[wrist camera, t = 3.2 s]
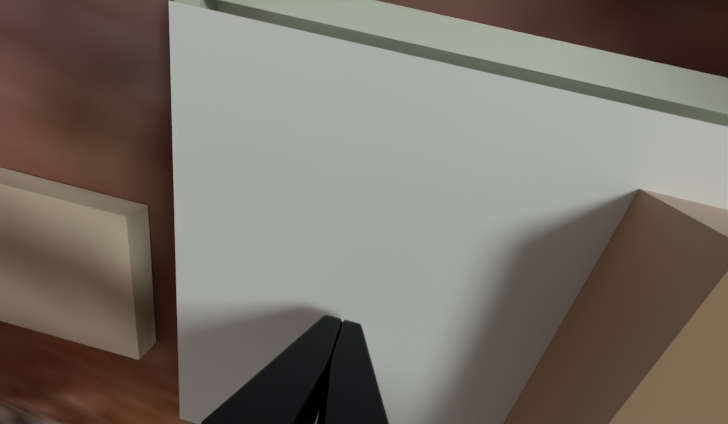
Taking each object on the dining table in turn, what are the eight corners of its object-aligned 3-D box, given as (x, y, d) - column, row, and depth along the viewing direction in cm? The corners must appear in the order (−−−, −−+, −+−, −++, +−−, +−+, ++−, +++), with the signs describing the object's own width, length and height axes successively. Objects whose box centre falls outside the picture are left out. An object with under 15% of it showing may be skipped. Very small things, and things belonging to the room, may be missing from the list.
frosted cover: (517, 395, 14) (591, 641, 8) (245, 321, 15) (125, 499, 9) (675, 119, 10) (1130, 212, 3) (269, 27, 10) (46, -33, 4)
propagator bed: (819, 478, 15) (861, 522, 14) (201, 310, 17) (180, 334, 15) (1197, 190, 9) (1339, 212, 8) (205, -30, 11) (172, -45, 9)
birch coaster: (156, 342, 18) (139, 360, 17) (16, 303, 18) (-9, 318, 17) (147, 205, 15) (126, 217, 14) (-23, 161, 15) (-57, 169, 14)
